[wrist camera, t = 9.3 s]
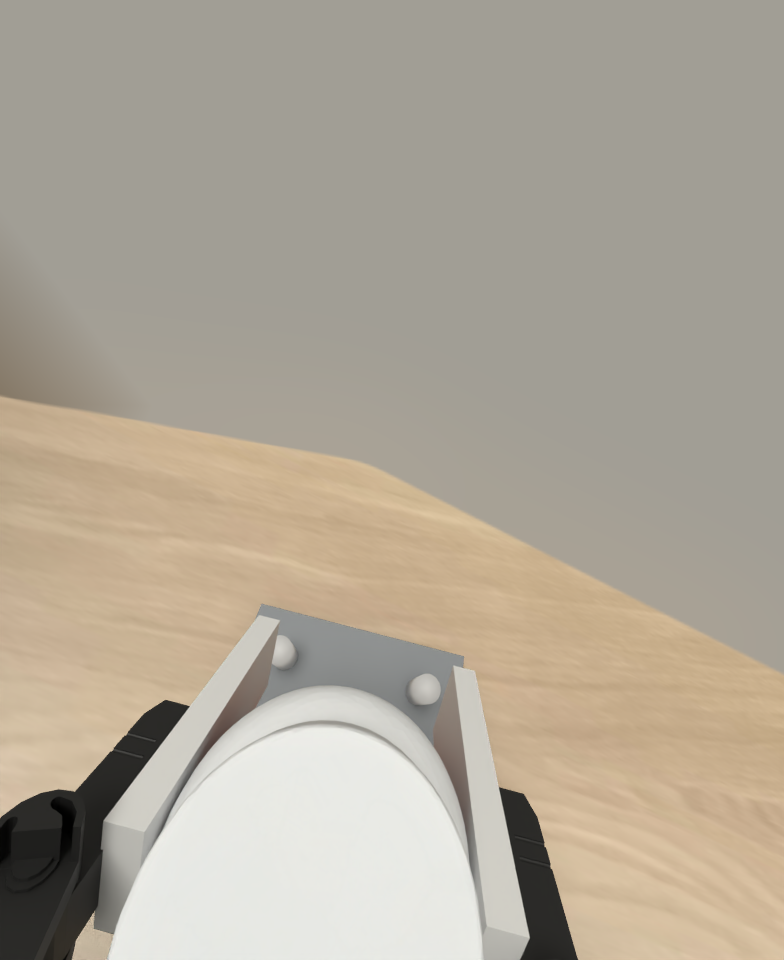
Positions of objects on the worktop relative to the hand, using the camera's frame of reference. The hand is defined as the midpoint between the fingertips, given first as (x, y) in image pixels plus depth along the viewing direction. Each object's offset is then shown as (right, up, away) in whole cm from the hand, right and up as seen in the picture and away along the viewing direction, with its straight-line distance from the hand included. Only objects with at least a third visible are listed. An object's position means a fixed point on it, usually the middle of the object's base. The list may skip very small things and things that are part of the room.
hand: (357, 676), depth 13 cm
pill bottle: (-1, -5, +1) cm, 5 cm away
